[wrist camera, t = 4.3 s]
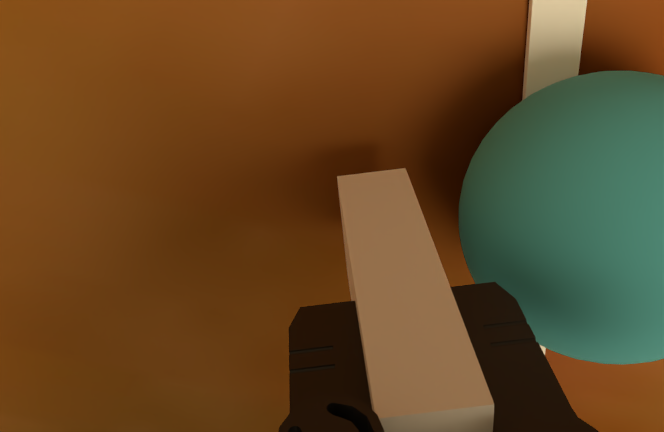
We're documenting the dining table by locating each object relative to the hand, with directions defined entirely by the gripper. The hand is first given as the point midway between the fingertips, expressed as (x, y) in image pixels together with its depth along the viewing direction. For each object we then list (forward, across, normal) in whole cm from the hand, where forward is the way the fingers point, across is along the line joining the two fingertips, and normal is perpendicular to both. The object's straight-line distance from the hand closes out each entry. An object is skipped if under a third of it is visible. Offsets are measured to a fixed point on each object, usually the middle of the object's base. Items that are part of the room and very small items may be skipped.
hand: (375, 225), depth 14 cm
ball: (-1, -5, 0) cm, 5 cm away
